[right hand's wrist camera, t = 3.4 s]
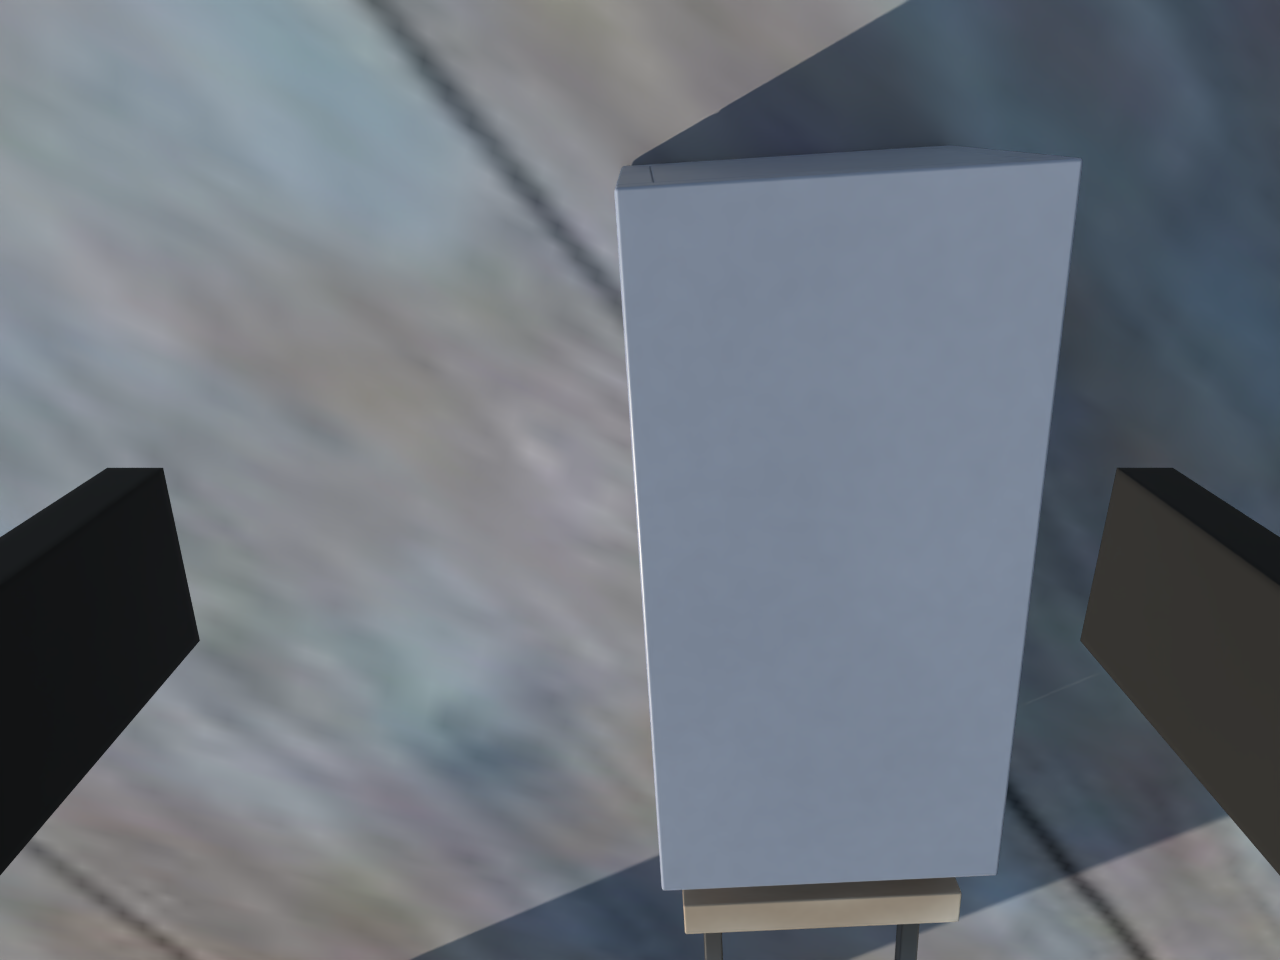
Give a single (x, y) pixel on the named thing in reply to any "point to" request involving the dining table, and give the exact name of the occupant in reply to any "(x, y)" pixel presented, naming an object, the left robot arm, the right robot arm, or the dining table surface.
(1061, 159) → the cabinet
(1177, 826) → the dining table surface
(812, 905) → the drawer
